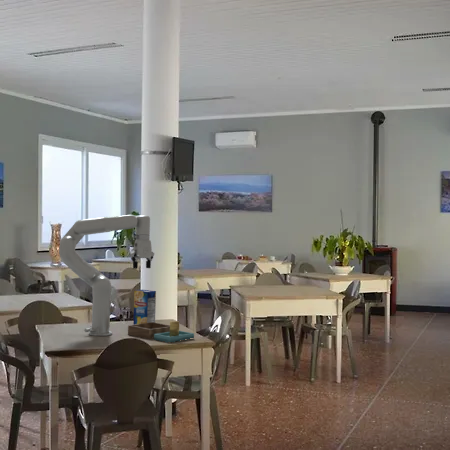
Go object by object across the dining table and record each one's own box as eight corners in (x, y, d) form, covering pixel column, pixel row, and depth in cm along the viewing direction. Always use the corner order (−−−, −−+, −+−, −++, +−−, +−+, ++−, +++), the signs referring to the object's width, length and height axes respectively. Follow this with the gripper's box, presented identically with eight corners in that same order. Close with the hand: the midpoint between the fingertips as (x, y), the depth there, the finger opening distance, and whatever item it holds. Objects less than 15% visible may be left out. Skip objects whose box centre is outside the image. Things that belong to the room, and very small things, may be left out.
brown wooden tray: (150, 338, 339) (150, 329, 339) (127, 334, 350) (128, 325, 350) (174, 335, 352) (174, 326, 352) (151, 330, 364) (152, 322, 364)
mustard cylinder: (174, 337, 336) (174, 322, 336) (167, 336, 339) (168, 321, 339) (180, 336, 340) (181, 321, 340) (174, 335, 343) (174, 320, 343)
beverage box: (146, 330, 367) (147, 291, 367) (133, 327, 373) (134, 290, 373) (154, 328, 372) (156, 291, 372) (141, 326, 379) (142, 289, 379)
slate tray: (170, 343, 329) (170, 337, 329) (154, 339, 337) (154, 334, 337) (193, 338, 343) (194, 333, 343) (178, 335, 350) (178, 330, 350)
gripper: (135, 237, 345) (134, 269, 345) (158, 238, 359) (157, 268, 359) (126, 237, 350) (125, 268, 350) (149, 237, 363) (148, 267, 363)
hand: (141, 268), depth 354 cm, fingers open, 9 cm apart
